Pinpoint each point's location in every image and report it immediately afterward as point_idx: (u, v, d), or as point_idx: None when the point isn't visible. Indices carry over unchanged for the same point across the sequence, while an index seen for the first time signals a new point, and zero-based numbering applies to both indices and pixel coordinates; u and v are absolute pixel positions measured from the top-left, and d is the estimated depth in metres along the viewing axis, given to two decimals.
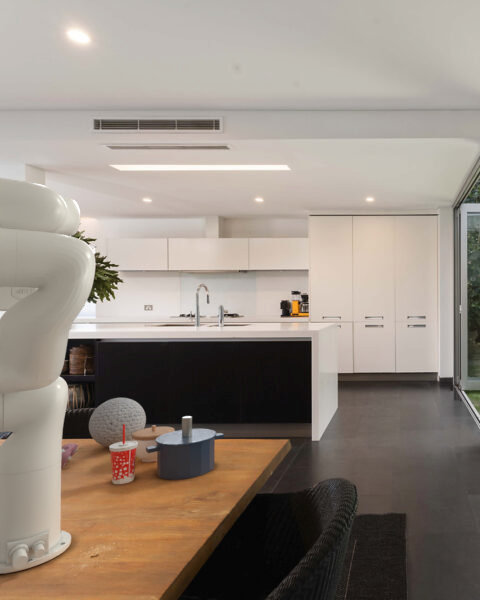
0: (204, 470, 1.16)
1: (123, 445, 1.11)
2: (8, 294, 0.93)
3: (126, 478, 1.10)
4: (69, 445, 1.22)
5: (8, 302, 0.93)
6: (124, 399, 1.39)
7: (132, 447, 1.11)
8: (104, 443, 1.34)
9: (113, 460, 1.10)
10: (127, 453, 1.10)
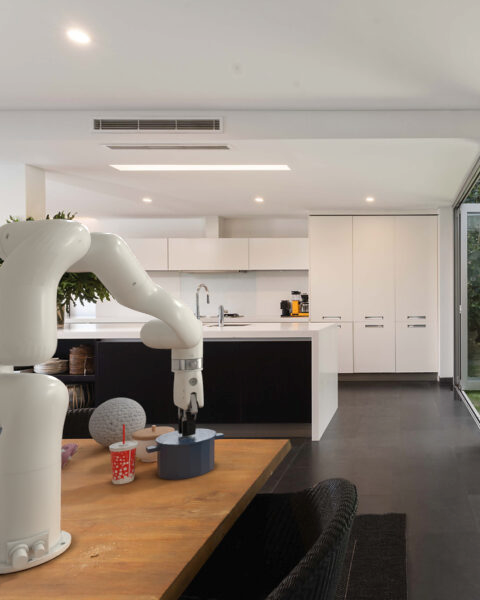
0: (204, 470, 1.16)
1: (123, 445, 1.11)
2: None
3: (126, 478, 1.10)
4: (69, 445, 1.22)
5: None
6: (124, 399, 1.39)
7: (132, 447, 1.11)
8: (104, 443, 1.34)
9: (113, 460, 1.10)
10: (127, 453, 1.10)
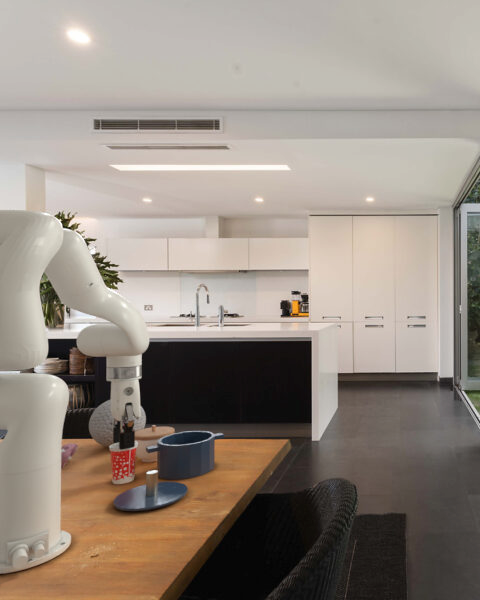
0: (204, 470, 1.16)
1: None
2: None
3: (126, 478, 1.10)
4: (69, 445, 1.22)
5: None
6: None
7: None
8: (104, 443, 1.34)
9: (113, 460, 1.10)
10: (127, 453, 1.10)
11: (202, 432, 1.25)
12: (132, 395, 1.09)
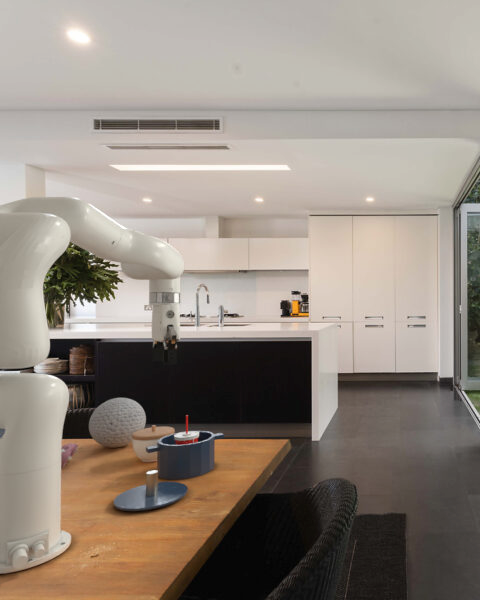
0: (204, 470, 1.16)
1: (187, 435, 1.19)
2: None
3: None
4: (69, 445, 1.22)
5: None
6: (124, 399, 1.39)
7: (195, 436, 1.18)
8: (104, 443, 1.34)
9: None
10: (191, 442, 1.18)
11: (202, 432, 1.25)
12: (173, 318, 1.19)
